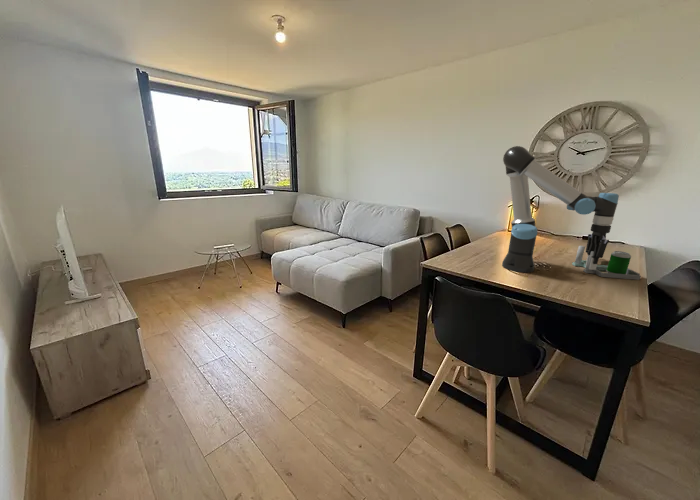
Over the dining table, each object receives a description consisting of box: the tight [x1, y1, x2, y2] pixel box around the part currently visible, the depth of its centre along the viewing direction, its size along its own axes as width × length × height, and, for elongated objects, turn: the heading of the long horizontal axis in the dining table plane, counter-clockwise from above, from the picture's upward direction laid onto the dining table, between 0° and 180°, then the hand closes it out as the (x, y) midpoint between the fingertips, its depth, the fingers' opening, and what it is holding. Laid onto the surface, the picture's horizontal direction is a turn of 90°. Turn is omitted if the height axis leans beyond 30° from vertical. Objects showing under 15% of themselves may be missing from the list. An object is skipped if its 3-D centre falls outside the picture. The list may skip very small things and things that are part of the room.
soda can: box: [606, 250, 632, 274], centre depth 148 cm, size 8×8×12 cm
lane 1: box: [571, 245, 608, 269], centre depth 160 cm, size 21×9×11 cm, turn 78°
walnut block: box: [597, 258, 609, 266], centre depth 160 cm, size 4×4×4 cm
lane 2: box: [583, 251, 642, 281], centre depth 149 cm, size 21×12×11 cm, turn 78°
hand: (590, 268), depth 151 cm, fingers closed on lane 2, 3 cm apart
